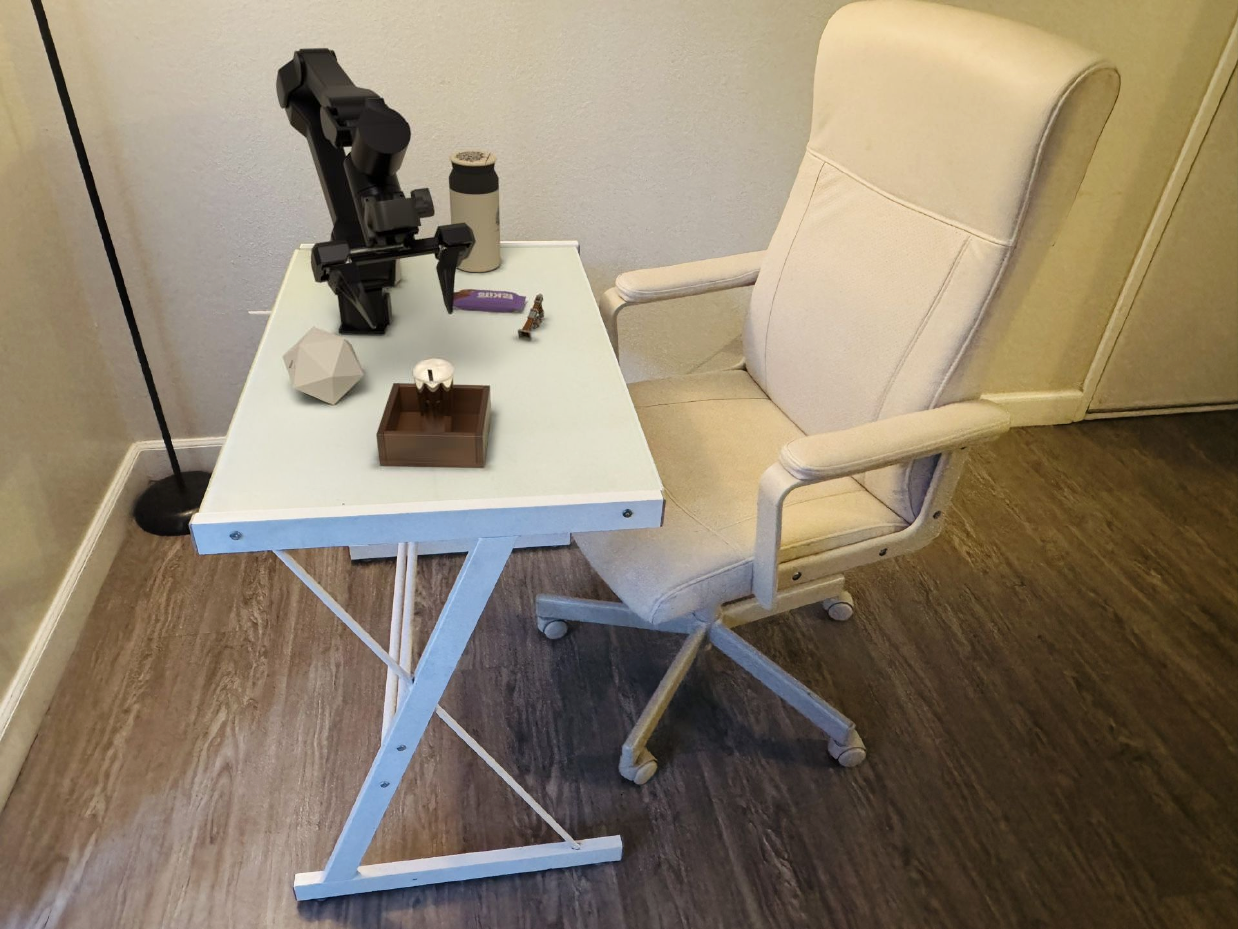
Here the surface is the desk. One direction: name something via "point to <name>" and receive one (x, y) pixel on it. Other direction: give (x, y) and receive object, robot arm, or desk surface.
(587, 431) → the desk surface
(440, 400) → the milkshake
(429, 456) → the open box
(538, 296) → the wooden post with brackets
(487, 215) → the travel mug
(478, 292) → the snack package
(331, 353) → the die
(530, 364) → the desk surface
